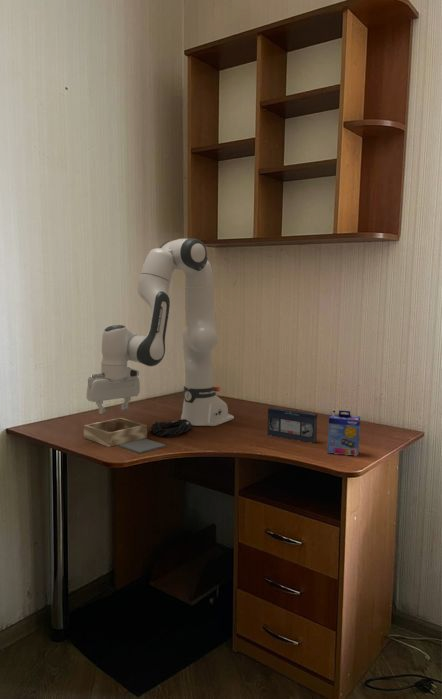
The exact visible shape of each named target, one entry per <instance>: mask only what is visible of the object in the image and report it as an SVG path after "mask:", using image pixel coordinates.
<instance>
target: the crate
mask: <svg viewBox="0 0 442 699" xmlns="http://www.w3.org/2000/svg"><path fill="white" fill-rule="evenodd" d="M115 419H118V420H122V421H124V424H125V429H123V430H118V431H114V432H107V431H106V421H110V420H115ZM144 438H145V439H148V425H147V424H144V423H142V422H137V421H134V420H130V419H127V418H123V417H118V418H113V419H107V420H104V421H99V422H98V421H97V422H93V423H90V424H84V425H83V439H86V440H89V441H91V442H92V441H93V442H94V443H98V444H100V445H103V446H106V447H108V448H109V447H113V446H119V445H120V444H124V443H128V442H132V441H136V440H140V439H144Z"/></svg>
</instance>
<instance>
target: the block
mask: <svg viewBox="0 0 442 699" xmlns="http://www.w3.org/2000/svg"><path fill="white" fill-rule="evenodd" d="M114 419H115V420H112V419H109V420H110V421H107V420H105V421H106V431H107V432H114V431H118V430H123V429H125V424H124V421H122V420H118V419H117V418H114Z"/></svg>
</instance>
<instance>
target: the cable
mask: <svg viewBox="0 0 442 699" xmlns="http://www.w3.org/2000/svg"><path fill="white" fill-rule="evenodd" d="M186 422H189V421H187V420H186V419H181V418H180V419H178V420H174V421H168V422H167V421H161V422H158V421H155V423H152V426H151V427H150V430H149V431H150V432H152V433H153V434H154V435H156V436H158V437H166V438H170V437H171V438H172V437H175V436H178V435H179V434H181V433H185V432H186V433H187V432H188V431H190V429H192V426H193V425H191V423H190V422H189V424H187V423H186ZM164 428H165V429H164ZM166 428H167V429H166Z"/></svg>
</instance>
